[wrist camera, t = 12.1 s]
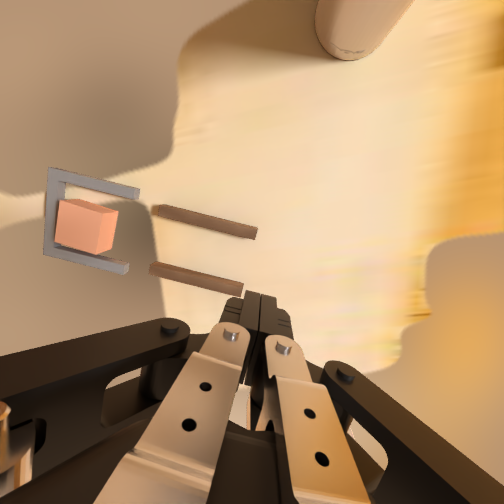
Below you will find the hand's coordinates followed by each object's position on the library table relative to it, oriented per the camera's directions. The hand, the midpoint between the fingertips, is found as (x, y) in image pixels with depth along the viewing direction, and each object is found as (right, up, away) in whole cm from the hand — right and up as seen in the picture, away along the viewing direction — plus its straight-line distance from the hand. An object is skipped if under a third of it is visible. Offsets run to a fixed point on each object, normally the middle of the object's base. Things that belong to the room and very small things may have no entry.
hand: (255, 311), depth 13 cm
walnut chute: (-7, +3, +27) cm, 28 cm away
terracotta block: (-24, +7, +28) cm, 37 cm away
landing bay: (-23, +7, +27) cm, 37 cm away
